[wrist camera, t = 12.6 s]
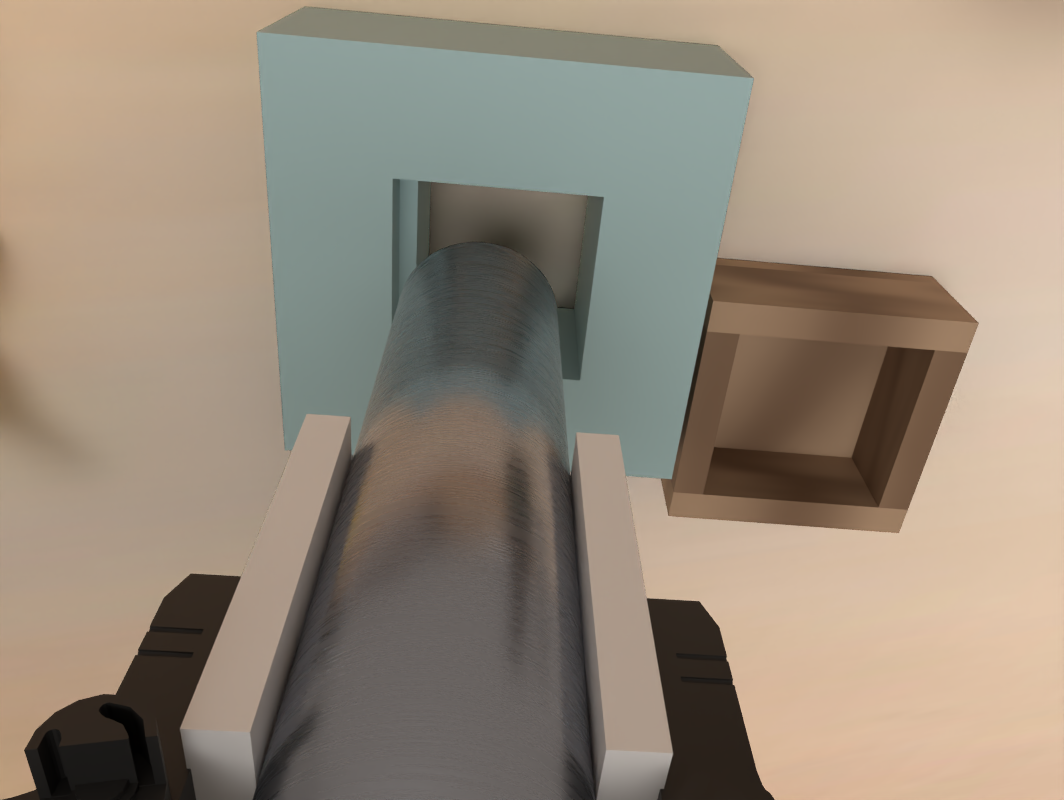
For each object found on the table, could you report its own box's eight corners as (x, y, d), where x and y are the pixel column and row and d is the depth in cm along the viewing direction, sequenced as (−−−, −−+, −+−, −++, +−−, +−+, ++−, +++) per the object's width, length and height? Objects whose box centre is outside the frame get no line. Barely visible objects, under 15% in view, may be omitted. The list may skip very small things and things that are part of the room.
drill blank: (397, 380, 23) (210, 1130, 9) (398, 235, 21) (161, 921, 7) (549, 391, 23) (587, 1140, 9) (565, 248, 21) (644, 938, 7)
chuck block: (320, 371, 31) (284, 450, 27) (304, 6, 25) (256, 31, 21) (653, 398, 32) (671, 479, 27) (718, 45, 26) (753, 78, 21)
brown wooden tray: (656, 456, 33) (668, 515, 30) (695, 256, 29) (713, 301, 26) (865, 472, 33) (898, 533, 30) (932, 276, 29) (978, 323, 26)
